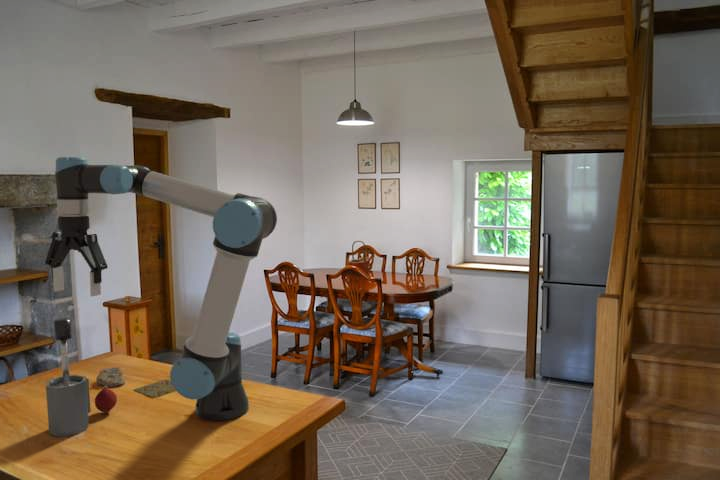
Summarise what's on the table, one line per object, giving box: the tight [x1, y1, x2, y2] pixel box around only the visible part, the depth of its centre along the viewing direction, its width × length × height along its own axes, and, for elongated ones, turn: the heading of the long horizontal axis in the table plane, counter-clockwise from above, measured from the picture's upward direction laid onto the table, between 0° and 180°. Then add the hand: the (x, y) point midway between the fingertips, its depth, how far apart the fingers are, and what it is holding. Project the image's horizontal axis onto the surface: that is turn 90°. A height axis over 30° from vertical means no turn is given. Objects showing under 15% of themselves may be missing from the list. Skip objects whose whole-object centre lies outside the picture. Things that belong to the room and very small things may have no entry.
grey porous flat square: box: [132, 379, 177, 399], centre depth 185 cm, size 12×12×1 cm
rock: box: [95, 367, 126, 387], centre depth 190 cm, size 9×6×10 cm
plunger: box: [53, 317, 79, 387], centre depth 153 cm, size 7×7×19 cm
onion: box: [94, 385, 118, 414], centre depth 165 cm, size 6×6×8 cm
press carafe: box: [45, 374, 92, 438], centre depth 156 cm, size 9×11×14 cm
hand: (77, 293), depth 155 cm, fingers open, 13 cm apart
